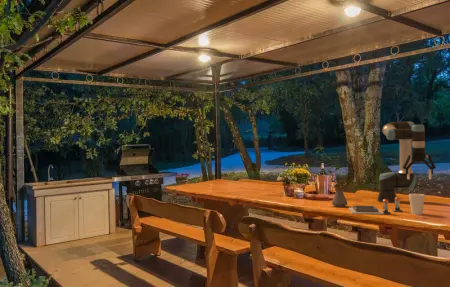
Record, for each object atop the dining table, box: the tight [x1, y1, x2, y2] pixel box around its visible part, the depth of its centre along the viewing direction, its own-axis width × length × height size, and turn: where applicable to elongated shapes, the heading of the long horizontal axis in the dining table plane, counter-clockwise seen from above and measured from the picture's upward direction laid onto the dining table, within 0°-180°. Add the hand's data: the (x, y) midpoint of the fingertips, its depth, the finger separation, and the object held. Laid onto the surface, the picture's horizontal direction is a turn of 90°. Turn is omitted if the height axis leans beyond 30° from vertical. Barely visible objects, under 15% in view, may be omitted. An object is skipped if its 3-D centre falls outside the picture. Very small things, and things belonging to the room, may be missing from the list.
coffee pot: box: [331, 184, 351, 208], centre depth 291 cm, size 21×12×15 cm, turn 134°
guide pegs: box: [382, 196, 403, 216], centre depth 258 cm, size 6×20×10 cm, turn 124°
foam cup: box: [408, 193, 426, 216], centre depth 251 cm, size 10×9×13 cm
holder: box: [347, 205, 385, 215], centre depth 263 cm, size 20×20×3 cm
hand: (419, 179), depth 252 cm, fingers open, 13 cm apart
